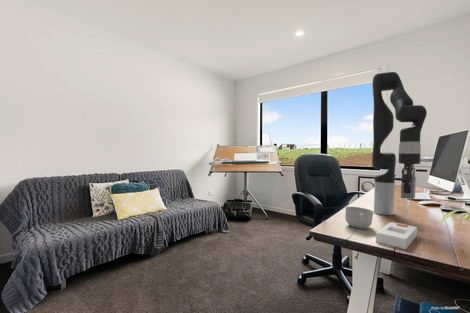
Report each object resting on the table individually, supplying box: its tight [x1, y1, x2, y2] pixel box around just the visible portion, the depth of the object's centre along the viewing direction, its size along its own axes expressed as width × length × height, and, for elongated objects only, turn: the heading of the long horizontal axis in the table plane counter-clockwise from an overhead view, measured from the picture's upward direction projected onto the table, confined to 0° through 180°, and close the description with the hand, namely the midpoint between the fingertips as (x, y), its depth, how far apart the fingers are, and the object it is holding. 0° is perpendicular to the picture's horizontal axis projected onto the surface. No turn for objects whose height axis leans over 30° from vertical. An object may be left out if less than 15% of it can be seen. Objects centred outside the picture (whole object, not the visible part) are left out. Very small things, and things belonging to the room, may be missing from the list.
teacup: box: [344, 206, 374, 230], centre depth 103 cm, size 14×11×8 cm
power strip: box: [375, 221, 418, 250], centre depth 90 cm, size 20×9×4 cm, turn 133°
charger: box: [400, 176, 417, 200], centre depth 101 cm, size 4×4×11 cm
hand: (408, 192), depth 101 cm, fingers closed on charger, 4 cm apart
